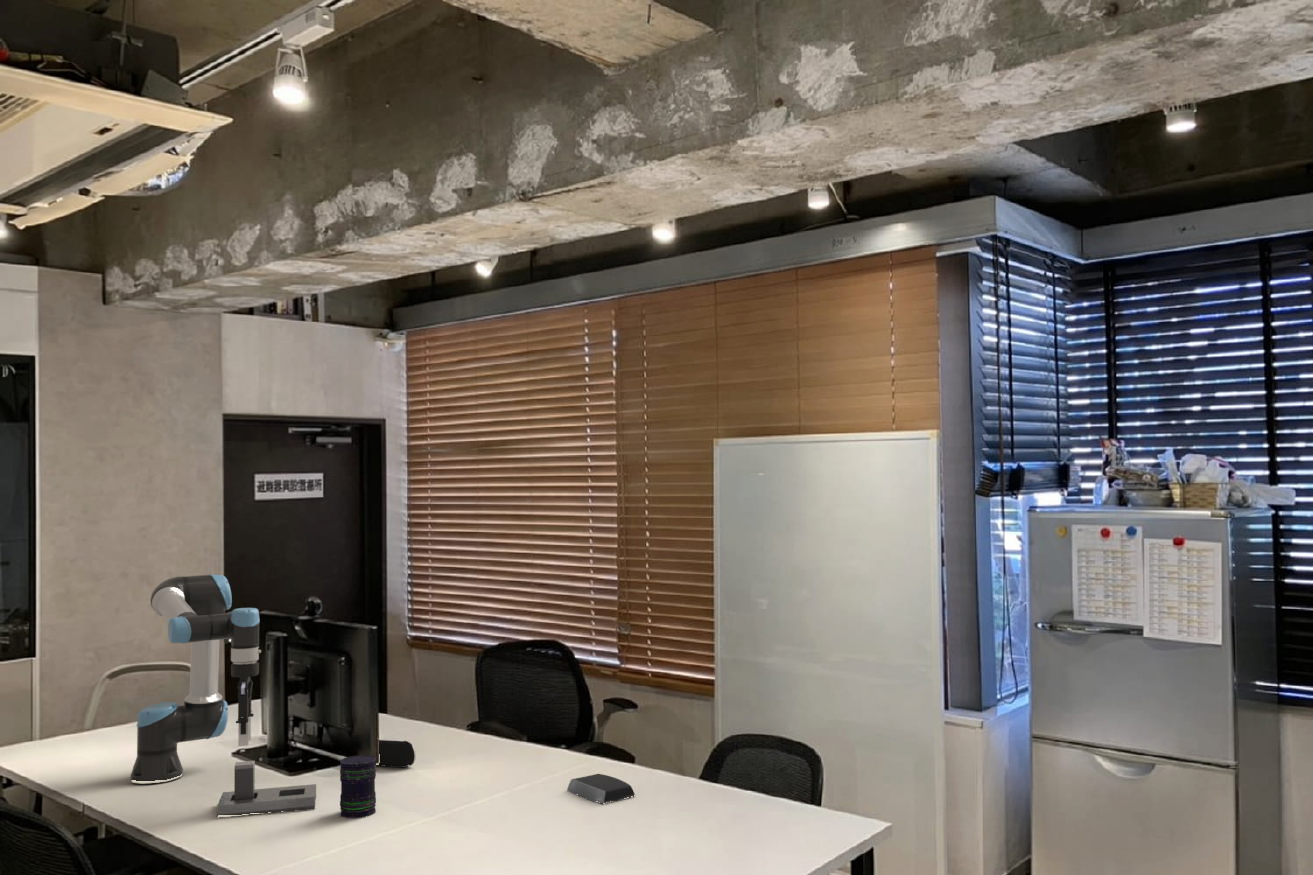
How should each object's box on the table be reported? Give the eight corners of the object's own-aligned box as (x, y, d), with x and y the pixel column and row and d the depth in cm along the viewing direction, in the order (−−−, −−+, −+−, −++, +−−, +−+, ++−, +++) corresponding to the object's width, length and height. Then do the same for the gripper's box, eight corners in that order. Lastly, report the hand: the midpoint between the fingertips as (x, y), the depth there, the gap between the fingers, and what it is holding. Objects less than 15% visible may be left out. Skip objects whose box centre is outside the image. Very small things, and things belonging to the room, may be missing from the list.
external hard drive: (600, 806, 299) (600, 792, 300) (564, 791, 315) (564, 778, 315) (637, 798, 307) (637, 783, 307) (600, 784, 323) (600, 770, 323)
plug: (236, 803, 302) (236, 761, 303) (254, 802, 304) (254, 760, 304) (234, 808, 298) (234, 765, 299) (253, 806, 299) (253, 764, 300)
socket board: (223, 804, 306) (223, 792, 306) (316, 795, 313) (316, 783, 313) (216, 818, 292) (217, 805, 293) (314, 809, 300) (314, 796, 300)
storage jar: (338, 810, 298) (338, 757, 299) (374, 806, 302) (374, 753, 302) (341, 820, 289) (341, 765, 290) (377, 815, 292) (377, 761, 293)
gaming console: (413, 769, 342) (417, 766, 345) (411, 742, 342) (415, 739, 345) (361, 766, 348) (365, 763, 350) (360, 739, 348) (364, 737, 350)
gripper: (256, 666, 295) (255, 749, 294) (261, 656, 313) (261, 734, 312) (227, 667, 293) (226, 751, 292) (234, 658, 311) (234, 736, 310)
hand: (244, 742), depth 302 cm, fingers open, 6 cm apart
